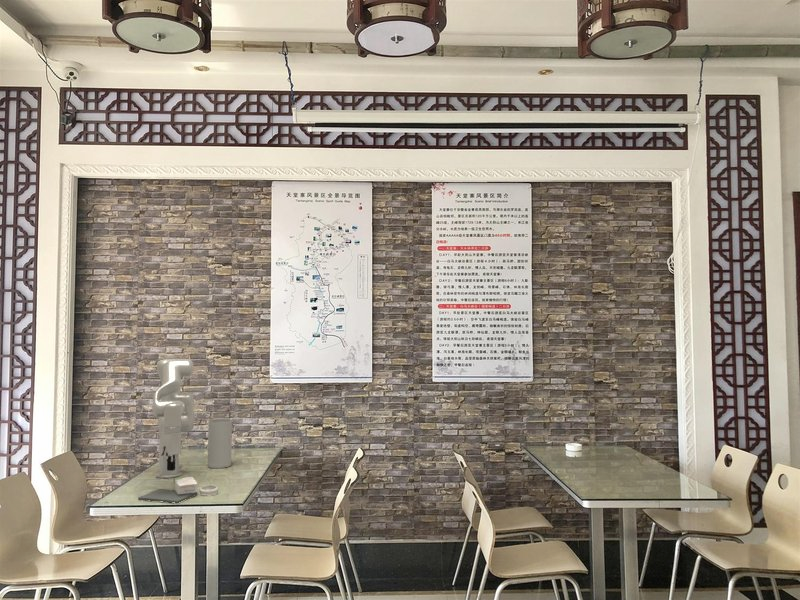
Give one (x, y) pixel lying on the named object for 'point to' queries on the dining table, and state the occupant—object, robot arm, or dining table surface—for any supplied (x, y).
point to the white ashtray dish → (208, 490)
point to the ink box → (185, 485)
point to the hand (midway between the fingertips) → (171, 470)
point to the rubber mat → (166, 496)
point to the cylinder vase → (219, 443)
